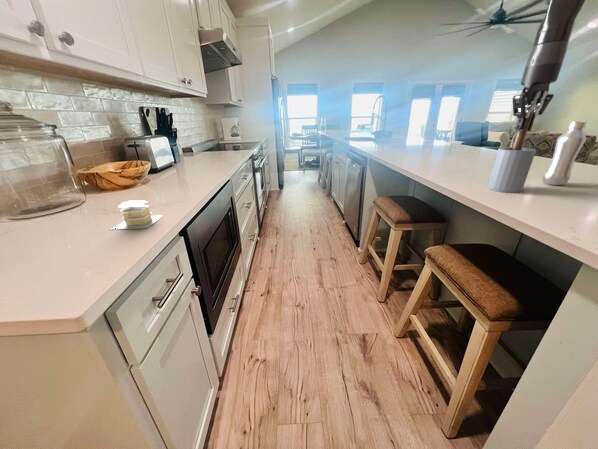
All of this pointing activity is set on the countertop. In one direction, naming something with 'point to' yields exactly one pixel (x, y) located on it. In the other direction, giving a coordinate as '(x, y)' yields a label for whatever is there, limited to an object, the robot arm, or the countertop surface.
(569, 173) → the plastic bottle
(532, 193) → the countertop surface
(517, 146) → the brush
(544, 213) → the countertop surface
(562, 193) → the countertop surface
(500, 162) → the cup
